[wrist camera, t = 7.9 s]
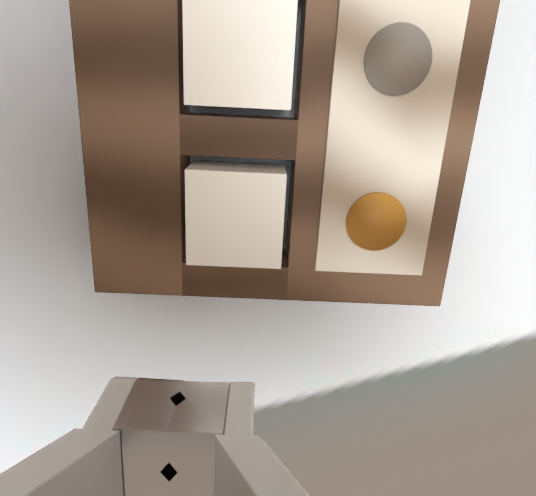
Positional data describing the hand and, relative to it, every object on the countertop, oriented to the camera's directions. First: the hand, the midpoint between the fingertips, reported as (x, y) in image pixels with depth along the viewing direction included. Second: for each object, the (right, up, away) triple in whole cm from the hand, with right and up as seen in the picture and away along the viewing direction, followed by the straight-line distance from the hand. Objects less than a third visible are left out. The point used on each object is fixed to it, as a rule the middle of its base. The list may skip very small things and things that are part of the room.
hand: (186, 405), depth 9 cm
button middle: (0, +13, +13) cm, 19 cm away
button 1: (0, +6, +16) cm, 17 cm away
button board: (+2, +14, +14) cm, 20 cm away
